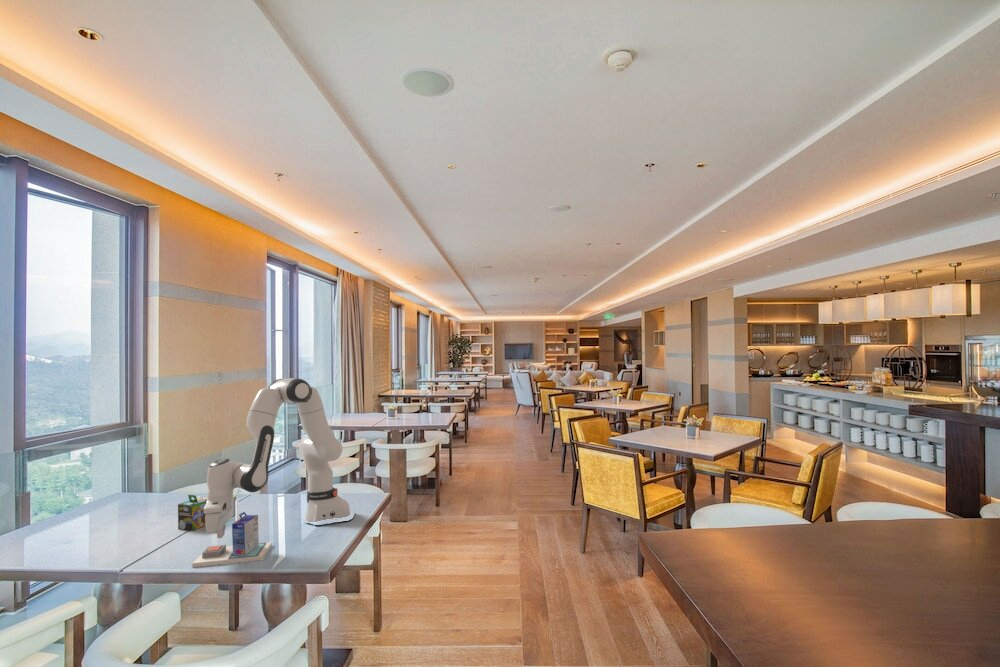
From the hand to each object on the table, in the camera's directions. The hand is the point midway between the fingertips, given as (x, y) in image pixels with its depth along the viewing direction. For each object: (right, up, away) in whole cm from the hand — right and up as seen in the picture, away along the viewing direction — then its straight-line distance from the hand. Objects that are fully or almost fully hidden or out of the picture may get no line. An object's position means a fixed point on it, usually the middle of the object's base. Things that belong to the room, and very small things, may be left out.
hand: (220, 536), depth 187 cm
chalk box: (-31, -9, +31) cm, 44 cm away
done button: (0, -5, -4) cm, 6 cm away
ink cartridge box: (+10, -5, -1) cm, 12 cm away
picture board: (+7, -6, -2) cm, 10 cm away
